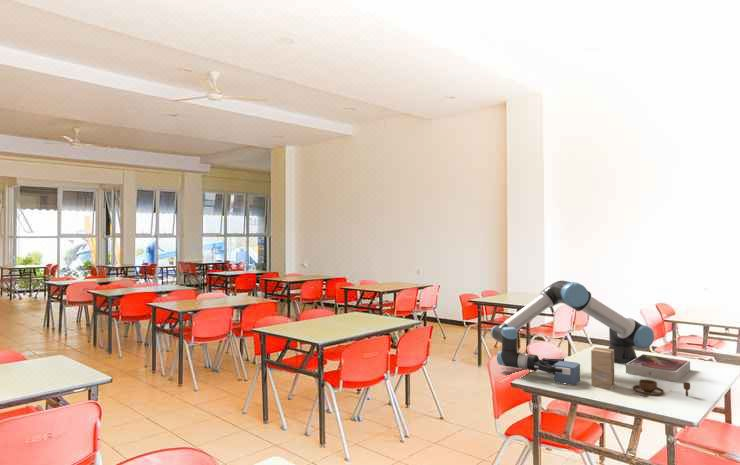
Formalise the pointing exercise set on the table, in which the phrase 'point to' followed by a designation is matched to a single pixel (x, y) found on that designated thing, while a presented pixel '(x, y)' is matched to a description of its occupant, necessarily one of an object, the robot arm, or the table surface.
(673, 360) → the product packaging
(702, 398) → the table surface
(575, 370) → the blue cube
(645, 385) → the place setting
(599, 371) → the box
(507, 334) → the robot arm
